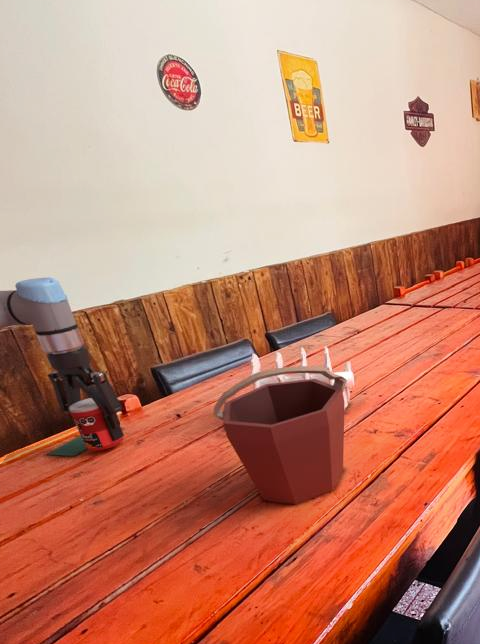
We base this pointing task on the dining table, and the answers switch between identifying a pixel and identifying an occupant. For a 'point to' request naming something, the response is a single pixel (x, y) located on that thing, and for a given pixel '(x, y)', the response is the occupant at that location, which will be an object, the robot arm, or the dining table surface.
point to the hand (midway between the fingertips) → (103, 437)
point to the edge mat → (70, 448)
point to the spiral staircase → (304, 376)
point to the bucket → (288, 433)
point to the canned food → (92, 425)
